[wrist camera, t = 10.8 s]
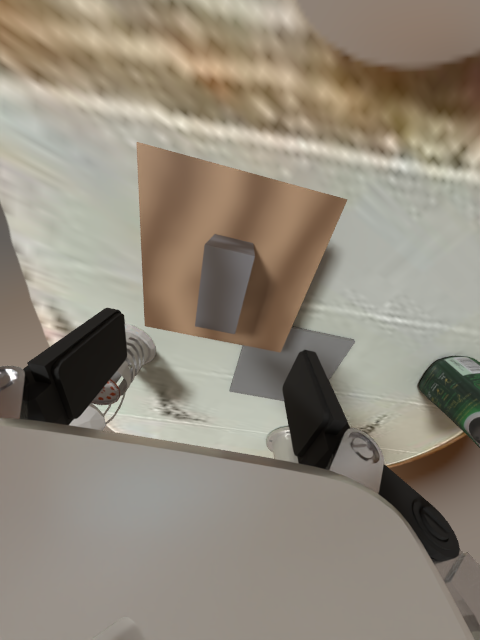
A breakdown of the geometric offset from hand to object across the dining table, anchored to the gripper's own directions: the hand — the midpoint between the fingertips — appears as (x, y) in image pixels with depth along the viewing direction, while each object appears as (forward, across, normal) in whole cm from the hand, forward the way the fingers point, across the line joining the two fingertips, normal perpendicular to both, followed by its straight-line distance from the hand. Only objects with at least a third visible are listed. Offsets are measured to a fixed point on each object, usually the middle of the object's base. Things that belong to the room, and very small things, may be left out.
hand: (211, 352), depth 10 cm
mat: (+20, -13, +17) cm, 29 cm away
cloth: (+12, 0, -1) cm, 12 cm away
